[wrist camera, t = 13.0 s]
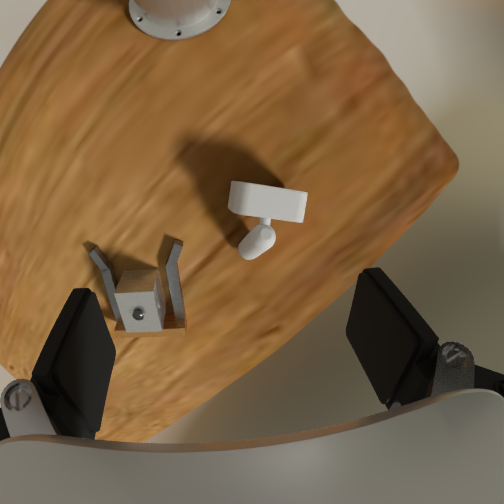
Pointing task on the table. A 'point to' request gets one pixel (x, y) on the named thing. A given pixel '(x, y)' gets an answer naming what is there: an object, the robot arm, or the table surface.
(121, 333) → the receiver
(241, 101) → the table surface
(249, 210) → the white jointed piece
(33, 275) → the table surface
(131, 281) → the block
